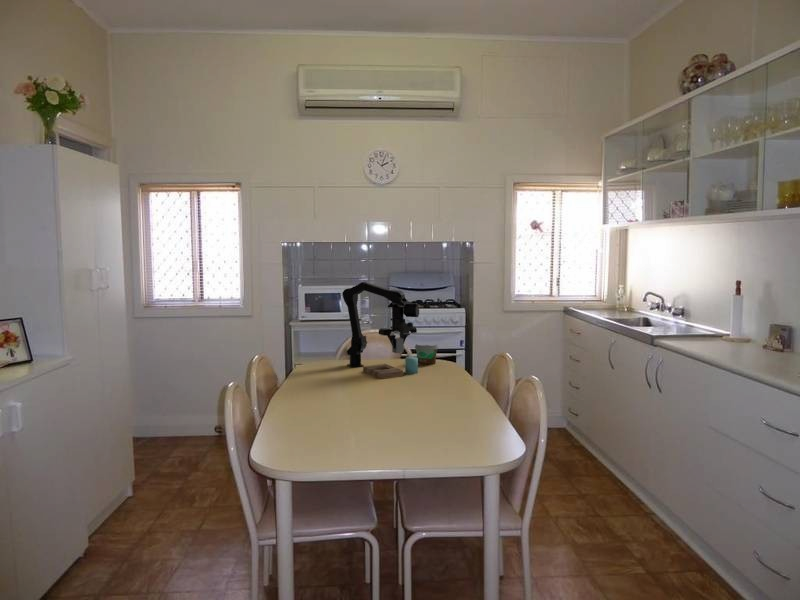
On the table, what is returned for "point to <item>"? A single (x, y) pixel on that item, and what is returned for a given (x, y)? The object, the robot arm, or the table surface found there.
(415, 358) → the round bit
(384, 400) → the table surface
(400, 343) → the square bit
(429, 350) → the food container
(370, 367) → the bore block
